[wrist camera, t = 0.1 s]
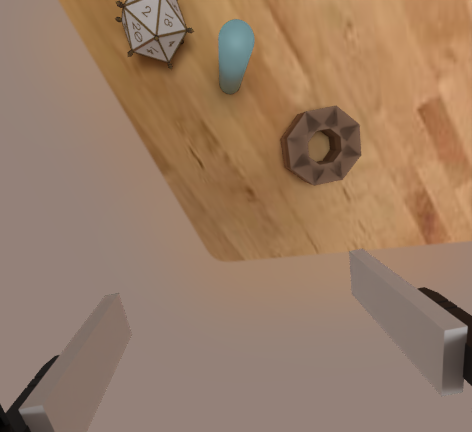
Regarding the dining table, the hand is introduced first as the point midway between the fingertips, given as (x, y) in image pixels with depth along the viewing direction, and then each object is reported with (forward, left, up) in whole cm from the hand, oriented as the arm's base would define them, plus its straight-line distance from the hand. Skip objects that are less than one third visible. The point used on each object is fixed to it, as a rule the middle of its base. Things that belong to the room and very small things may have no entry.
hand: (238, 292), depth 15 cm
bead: (-5, +15, -28) cm, 32 cm away
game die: (-23, -4, -28) cm, 37 cm away
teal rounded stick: (-16, +4, -28) cm, 32 cm away
